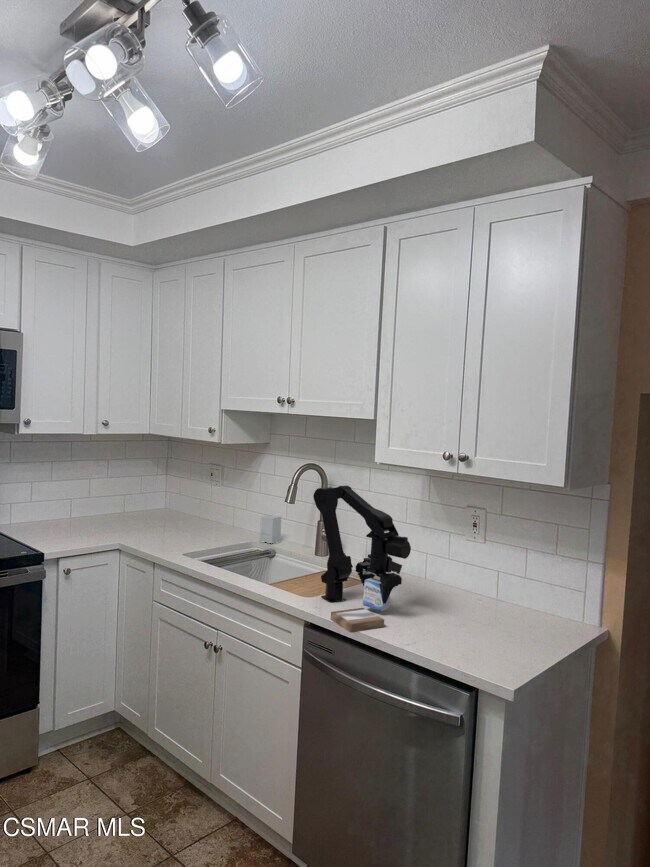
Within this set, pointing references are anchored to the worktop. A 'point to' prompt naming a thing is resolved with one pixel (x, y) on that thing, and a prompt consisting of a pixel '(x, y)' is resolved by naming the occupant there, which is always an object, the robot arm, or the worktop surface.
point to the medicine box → (374, 595)
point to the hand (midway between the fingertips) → (376, 599)
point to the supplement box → (270, 529)
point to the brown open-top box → (357, 619)
